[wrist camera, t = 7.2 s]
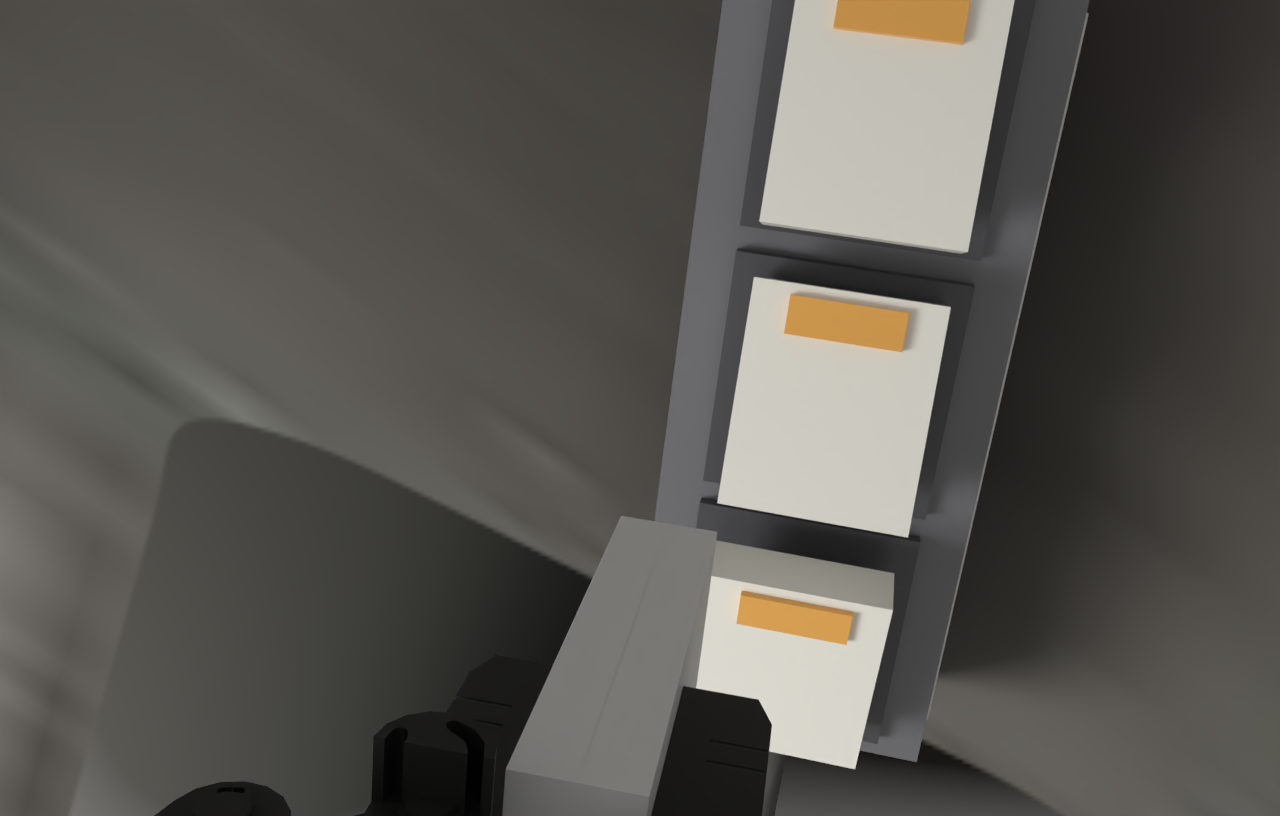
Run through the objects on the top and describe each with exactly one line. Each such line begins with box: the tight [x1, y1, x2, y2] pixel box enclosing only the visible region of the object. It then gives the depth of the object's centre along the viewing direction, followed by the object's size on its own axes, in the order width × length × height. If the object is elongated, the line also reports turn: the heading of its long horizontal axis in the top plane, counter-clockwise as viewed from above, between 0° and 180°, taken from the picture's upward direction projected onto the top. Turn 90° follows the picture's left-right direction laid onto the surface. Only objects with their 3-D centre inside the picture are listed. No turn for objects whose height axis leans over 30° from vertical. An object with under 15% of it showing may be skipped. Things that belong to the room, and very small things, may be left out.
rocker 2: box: [717, 276, 951, 538], centre depth 32 cm, size 5×6×2 cm
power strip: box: [654, 0, 1089, 816], centre depth 37 cm, size 9×29×5 cm, turn 173°
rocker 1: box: [759, 0, 1015, 254], centre depth 29 cm, size 5×6×2 cm
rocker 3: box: [696, 540, 894, 769], centre depth 34 cm, size 5×6×2 cm
